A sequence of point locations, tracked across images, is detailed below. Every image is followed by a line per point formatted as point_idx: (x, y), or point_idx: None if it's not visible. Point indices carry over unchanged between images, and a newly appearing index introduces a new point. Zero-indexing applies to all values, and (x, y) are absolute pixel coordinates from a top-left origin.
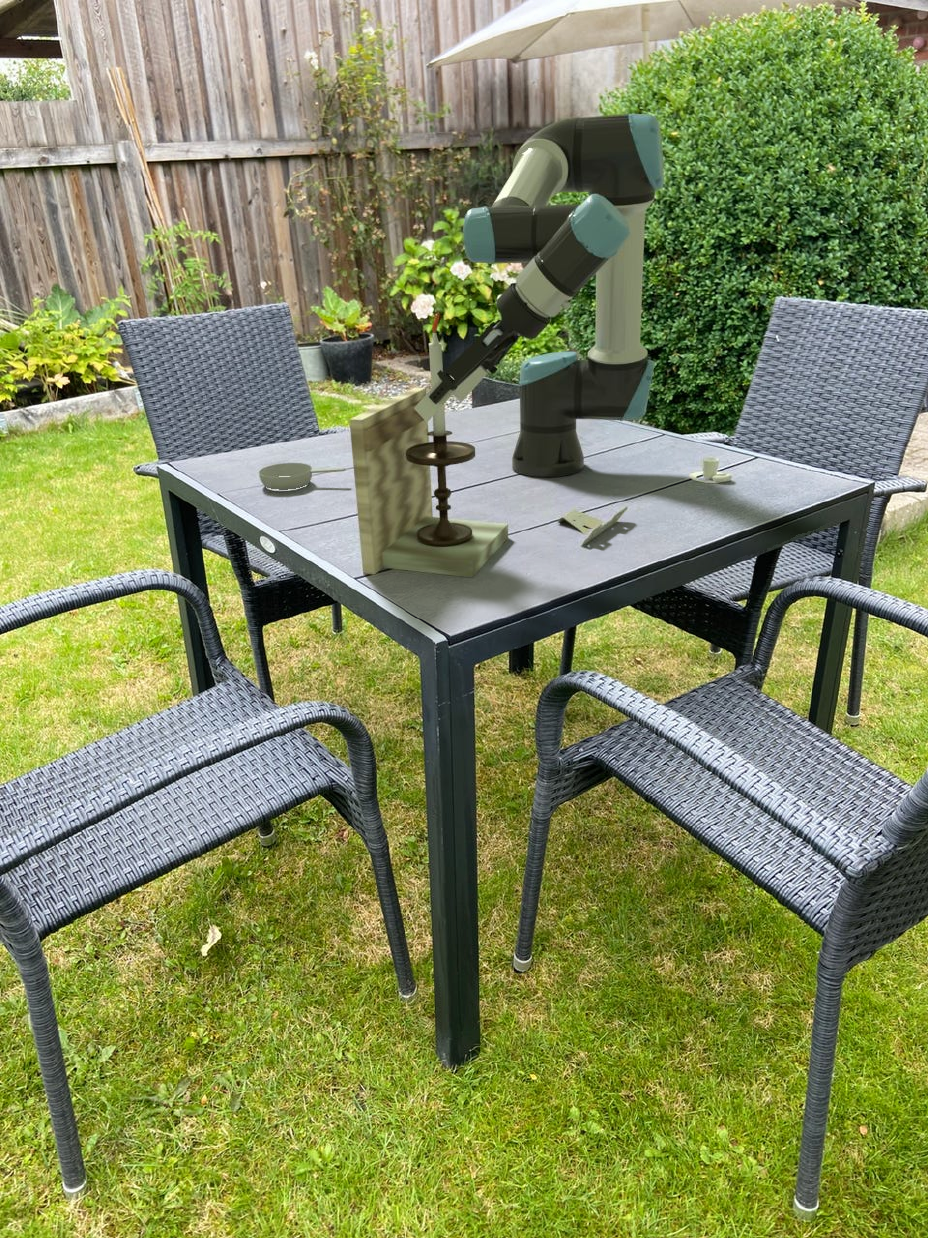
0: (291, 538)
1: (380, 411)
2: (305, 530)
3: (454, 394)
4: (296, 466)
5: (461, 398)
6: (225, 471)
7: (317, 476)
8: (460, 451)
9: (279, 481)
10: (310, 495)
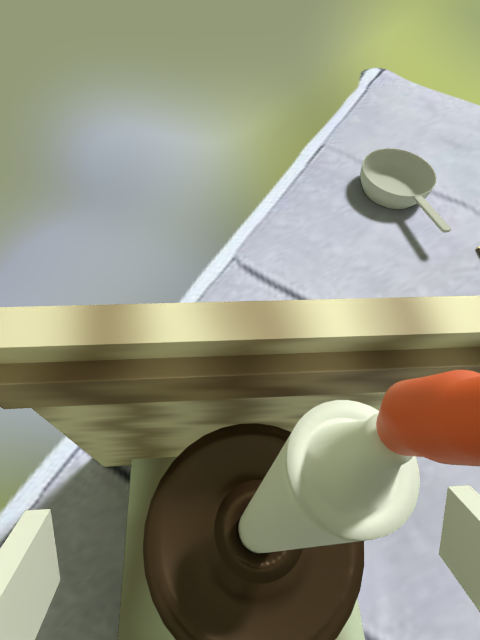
0: (214, 283)
1: (115, 345)
2: (248, 284)
3: (447, 520)
4: (429, 173)
5: (449, 562)
6: (394, 118)
7: (443, 202)
8: (298, 591)
9: (366, 183)
10: (373, 228)
